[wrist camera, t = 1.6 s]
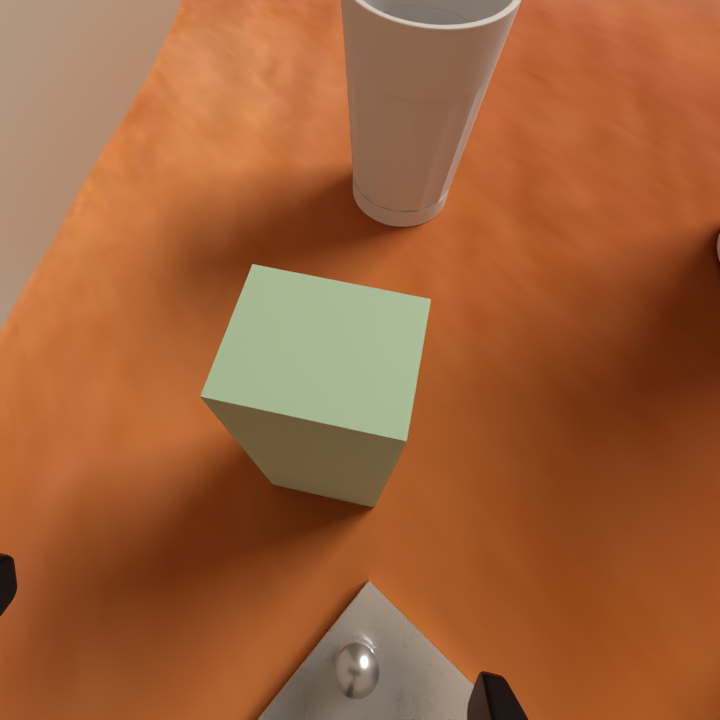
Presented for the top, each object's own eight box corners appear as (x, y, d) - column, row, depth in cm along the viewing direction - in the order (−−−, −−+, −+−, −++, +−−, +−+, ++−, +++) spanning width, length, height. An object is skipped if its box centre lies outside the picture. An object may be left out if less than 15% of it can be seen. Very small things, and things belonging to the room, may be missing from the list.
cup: (474, 227, 29) (554, 19, 18) (353, 245, 28) (360, 37, 17) (439, 142, 32) (489, -77, 21) (330, 155, 31) (323, -67, 20)
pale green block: (374, 507, 21) (406, 441, 10) (272, 484, 21) (200, 396, 11) (390, 420, 23) (433, 287, 12) (296, 400, 23) (256, 252, 12)
